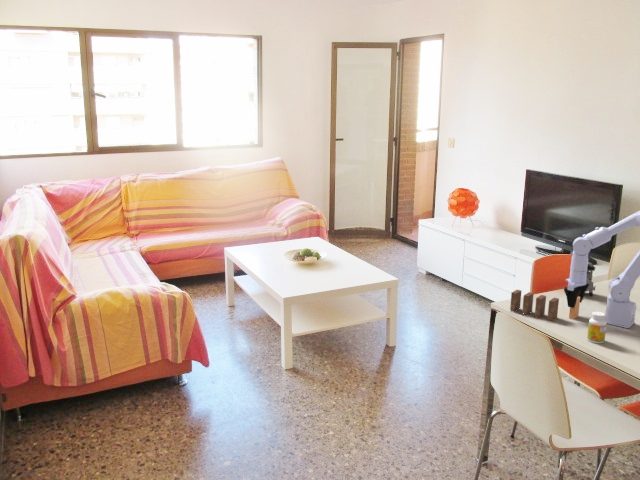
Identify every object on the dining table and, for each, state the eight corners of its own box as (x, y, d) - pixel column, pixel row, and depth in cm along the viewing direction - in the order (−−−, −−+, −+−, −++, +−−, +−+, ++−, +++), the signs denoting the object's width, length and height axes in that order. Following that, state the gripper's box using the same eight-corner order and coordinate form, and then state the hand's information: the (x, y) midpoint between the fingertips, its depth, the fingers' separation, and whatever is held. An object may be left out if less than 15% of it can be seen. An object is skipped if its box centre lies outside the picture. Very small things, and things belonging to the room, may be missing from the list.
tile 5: (519, 308, 234) (521, 290, 233) (514, 312, 231) (516, 293, 229) (515, 307, 236) (517, 289, 234) (510, 311, 232) (511, 292, 230)
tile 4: (531, 311, 231) (533, 293, 230) (526, 315, 228) (528, 296, 226) (527, 310, 233) (529, 292, 231) (522, 314, 229) (523, 295, 227)
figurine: (570, 298, 248) (573, 263, 244) (569, 290, 258) (572, 256, 255) (594, 300, 244) (598, 265, 241) (592, 292, 255) (596, 258, 252)
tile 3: (544, 314, 228) (546, 295, 227) (539, 318, 225) (541, 299, 223) (539, 313, 229) (541, 294, 228) (534, 317, 226) (536, 298, 224)
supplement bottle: (583, 338, 205) (586, 311, 203) (595, 336, 207) (598, 310, 205) (595, 344, 201) (598, 317, 198) (608, 342, 202) (611, 315, 200)
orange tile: (578, 315, 227) (580, 296, 226) (573, 319, 224) (575, 300, 222) (573, 314, 229) (575, 295, 227) (568, 318, 225) (570, 299, 223)
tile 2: (557, 317, 225) (559, 298, 224) (552, 321, 222) (554, 301, 220) (552, 316, 226) (554, 297, 225) (547, 320, 223) (549, 300, 221)
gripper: (574, 263, 230) (570, 297, 233) (560, 271, 219) (556, 306, 222) (593, 267, 225) (589, 301, 228) (580, 275, 215) (576, 311, 218)
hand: (574, 304), depth 225 cm, fingers open, 7 cm apart
